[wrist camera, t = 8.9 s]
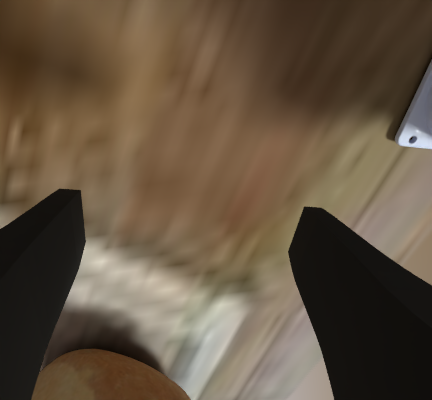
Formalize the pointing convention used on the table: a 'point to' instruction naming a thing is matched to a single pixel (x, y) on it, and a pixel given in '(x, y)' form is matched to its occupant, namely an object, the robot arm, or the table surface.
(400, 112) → the table surface
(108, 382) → the jug
